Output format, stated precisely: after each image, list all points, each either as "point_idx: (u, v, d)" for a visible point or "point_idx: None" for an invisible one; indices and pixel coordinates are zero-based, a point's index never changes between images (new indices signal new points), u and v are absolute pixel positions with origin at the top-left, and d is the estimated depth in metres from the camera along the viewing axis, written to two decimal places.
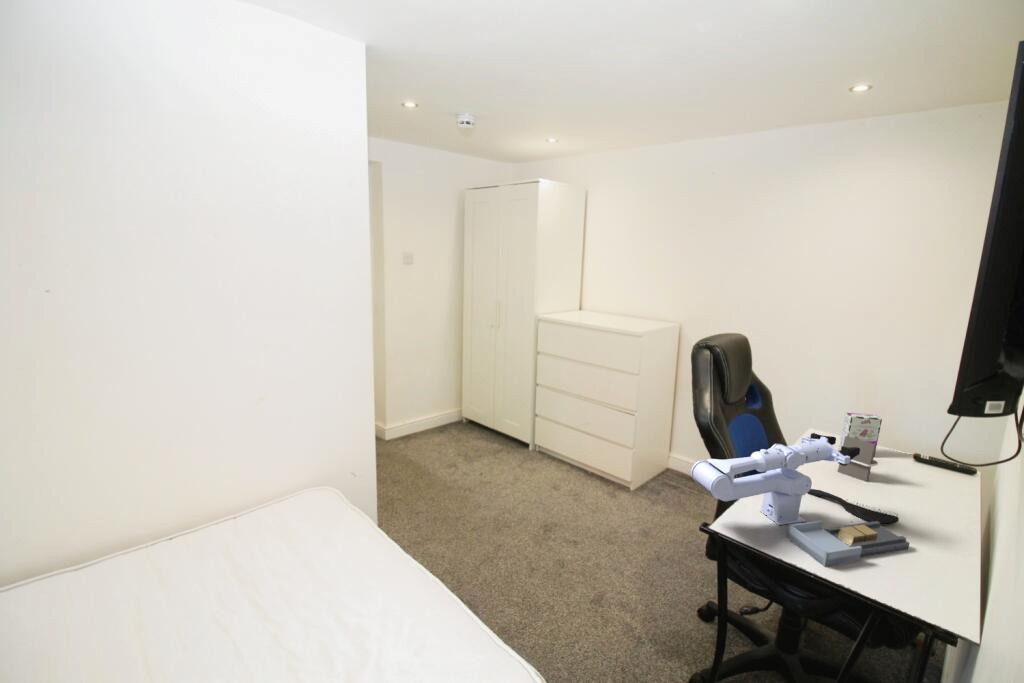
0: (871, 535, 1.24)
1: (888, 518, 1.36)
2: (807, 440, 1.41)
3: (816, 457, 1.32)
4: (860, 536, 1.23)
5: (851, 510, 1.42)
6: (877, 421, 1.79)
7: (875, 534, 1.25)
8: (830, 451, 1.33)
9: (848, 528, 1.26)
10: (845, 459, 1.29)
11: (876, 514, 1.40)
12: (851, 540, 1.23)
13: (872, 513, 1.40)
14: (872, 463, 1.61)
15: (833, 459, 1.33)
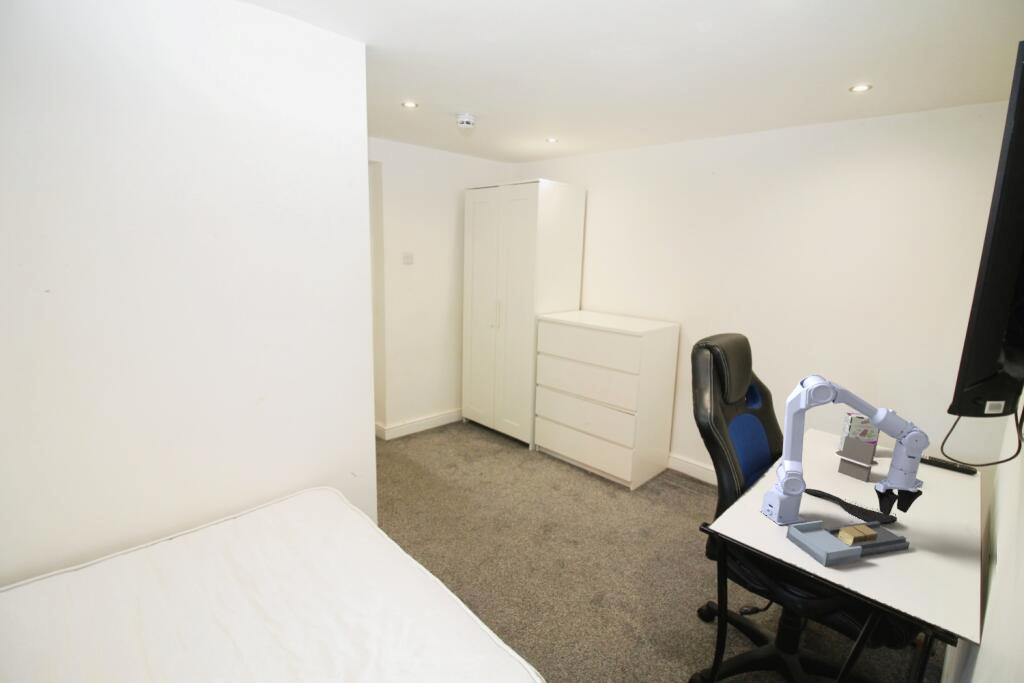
0: (871, 535, 1.24)
1: (886, 518, 1.36)
2: (916, 482, 1.26)
3: (907, 469, 1.22)
4: (860, 536, 1.23)
5: (849, 510, 1.42)
6: None
7: (875, 534, 1.25)
8: (896, 484, 1.24)
9: (848, 528, 1.26)
10: (881, 486, 1.23)
11: (874, 514, 1.40)
12: (851, 540, 1.23)
13: (870, 513, 1.41)
14: (872, 463, 1.60)
15: (884, 482, 1.26)
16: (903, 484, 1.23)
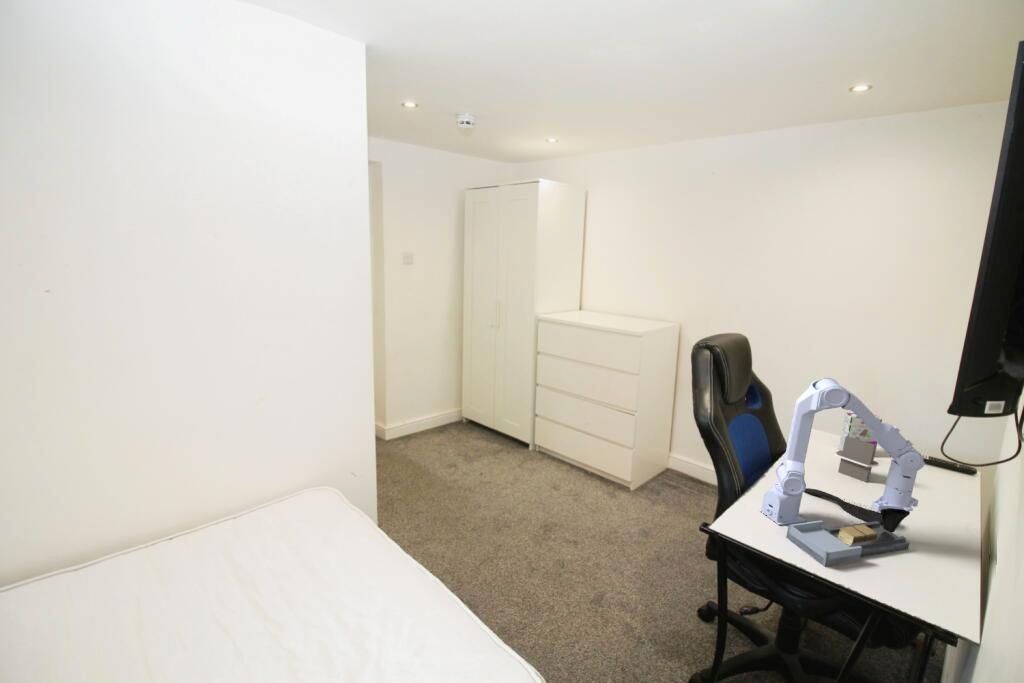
0: (871, 535, 1.24)
1: None
2: None
3: (903, 489, 1.23)
4: (860, 536, 1.23)
5: (848, 509, 1.42)
6: None
7: (875, 534, 1.25)
8: (891, 503, 1.25)
9: (848, 528, 1.26)
10: (877, 505, 1.24)
11: (873, 514, 1.40)
12: (851, 540, 1.23)
13: (869, 513, 1.41)
14: (872, 464, 1.60)
15: (880, 500, 1.27)
16: (898, 503, 1.24)
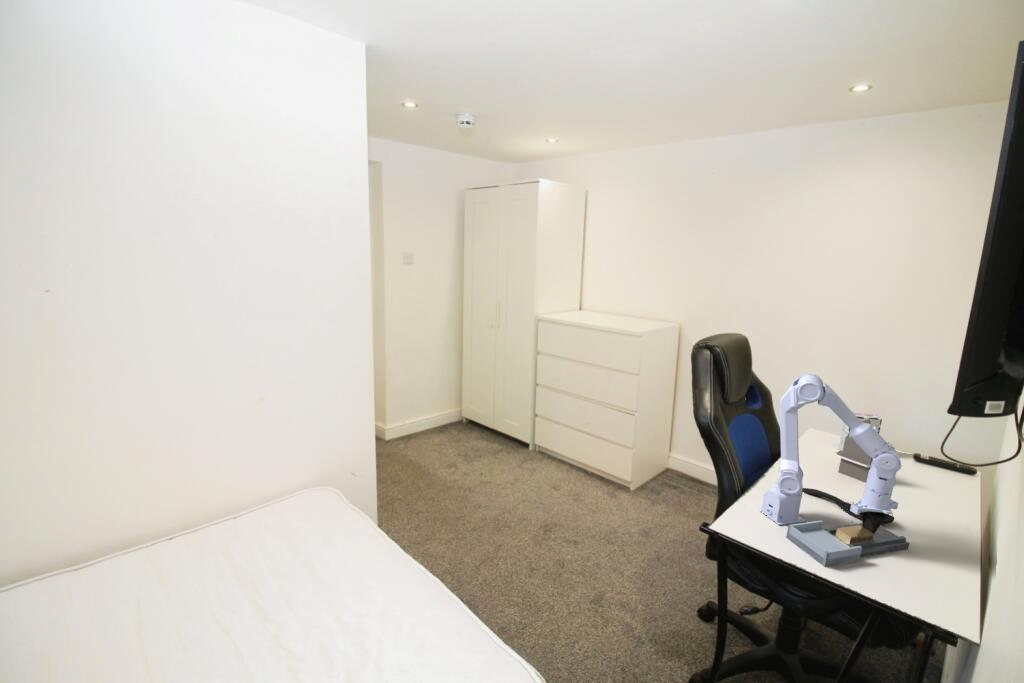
0: (867, 536, 1.24)
1: None
2: (891, 504, 1.26)
3: (879, 491, 1.22)
4: (857, 536, 1.23)
5: (847, 509, 1.42)
6: (877, 421, 1.79)
7: (871, 535, 1.24)
8: (870, 506, 1.23)
9: (845, 528, 1.26)
10: (856, 508, 1.23)
11: None
12: (848, 540, 1.23)
13: None
14: None
15: (859, 503, 1.25)
16: (877, 506, 1.22)
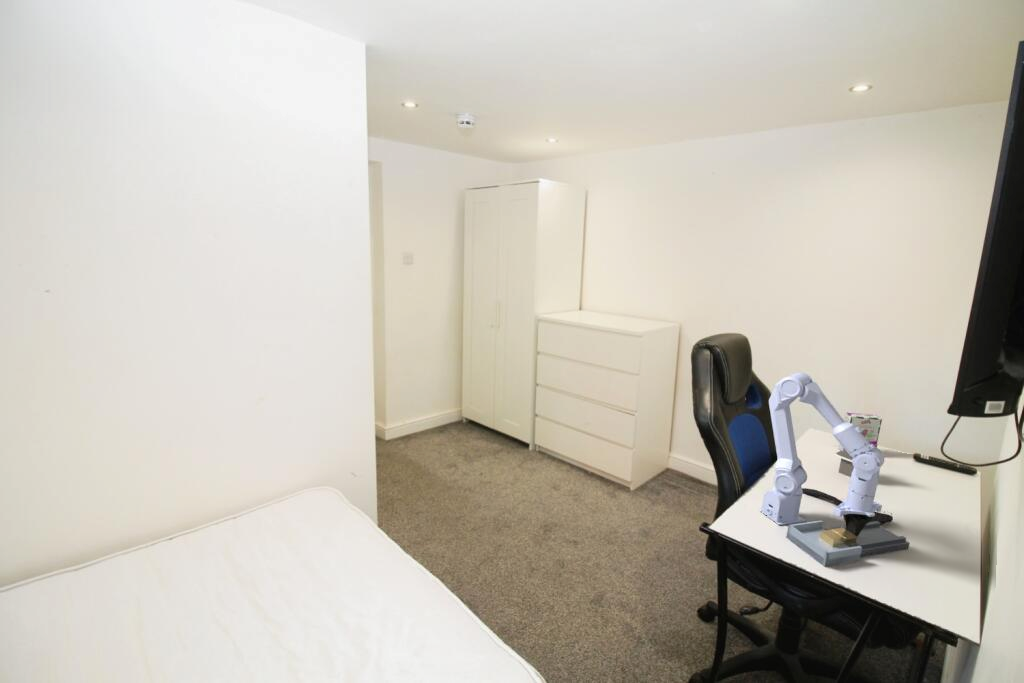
0: (850, 538, 1.22)
1: (882, 517, 1.36)
2: None
3: (858, 491, 1.21)
4: (840, 539, 1.21)
5: None
6: (877, 421, 1.79)
7: (854, 537, 1.23)
8: (853, 508, 1.22)
9: (829, 531, 1.24)
10: (838, 510, 1.21)
11: None
12: (831, 544, 1.21)
13: None
14: None
15: (842, 505, 1.24)
16: (860, 508, 1.21)
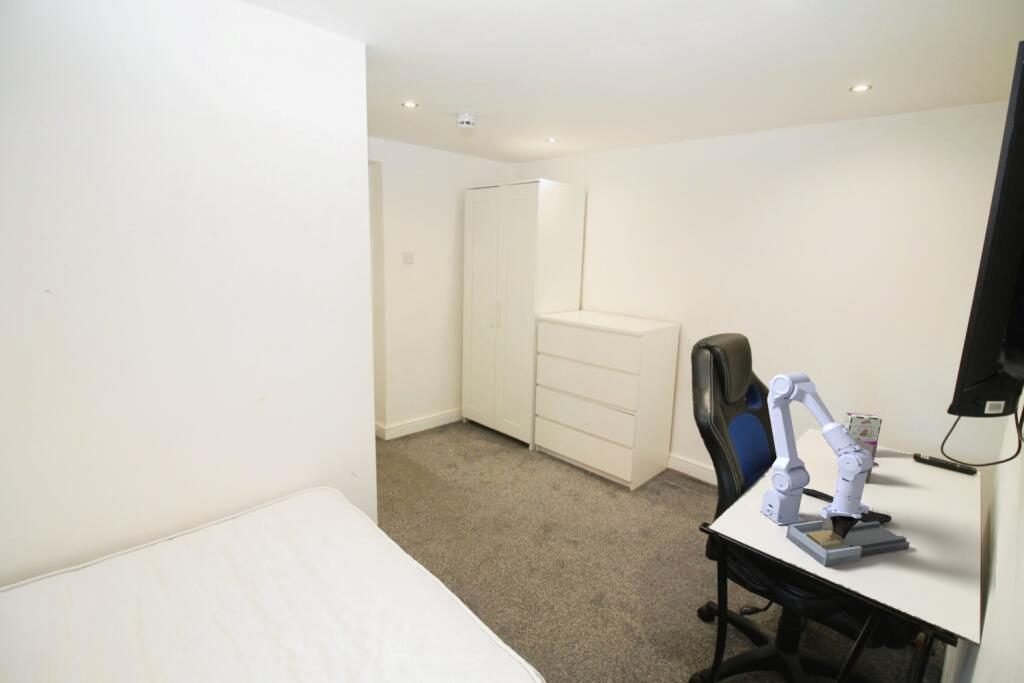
0: (837, 541, 1.21)
1: (881, 517, 1.36)
2: (862, 508, 1.23)
3: (841, 492, 1.20)
4: (826, 542, 1.20)
5: None
6: (877, 421, 1.79)
7: (841, 540, 1.21)
8: (840, 510, 1.21)
9: (815, 533, 1.23)
10: (825, 512, 1.20)
11: (869, 513, 1.40)
12: None
13: None
14: None
15: (829, 507, 1.23)
16: (847, 510, 1.20)
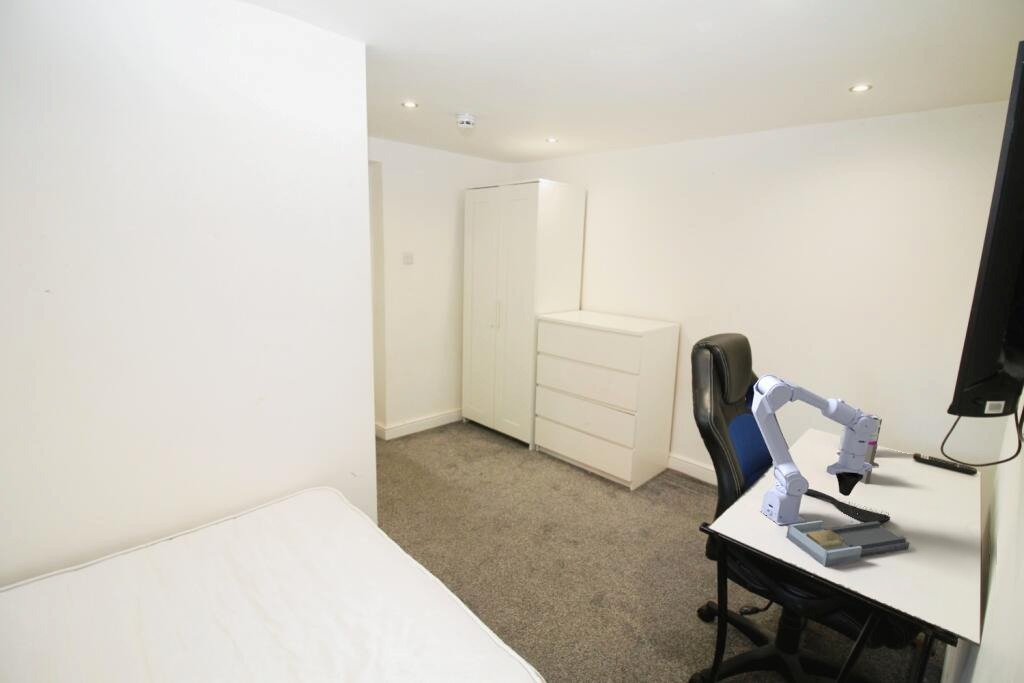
0: (837, 541, 1.21)
1: (879, 517, 1.36)
2: (866, 466, 1.33)
3: (858, 453, 1.28)
4: (826, 542, 1.20)
5: (843, 509, 1.42)
6: (877, 421, 1.79)
7: (841, 540, 1.21)
8: (845, 467, 1.30)
9: (815, 533, 1.23)
10: (831, 469, 1.30)
11: (868, 513, 1.40)
12: None
13: (864, 512, 1.41)
14: None
15: (835, 465, 1.32)
16: (852, 467, 1.29)
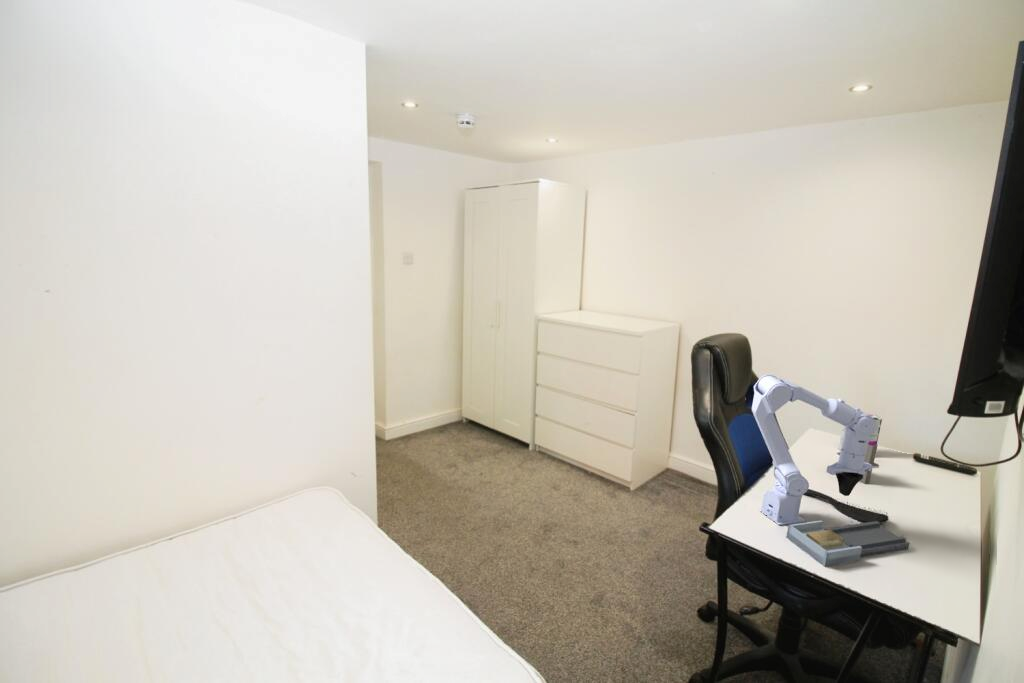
0: (837, 541, 1.21)
1: (878, 517, 1.36)
2: (866, 466, 1.33)
3: (858, 453, 1.28)
4: (826, 542, 1.20)
5: (841, 509, 1.42)
6: (877, 421, 1.79)
7: (841, 540, 1.21)
8: (845, 467, 1.30)
9: (815, 533, 1.23)
10: (831, 469, 1.30)
11: (866, 513, 1.40)
12: None
13: (862, 512, 1.41)
14: None
15: (835, 465, 1.32)
16: (852, 467, 1.29)
